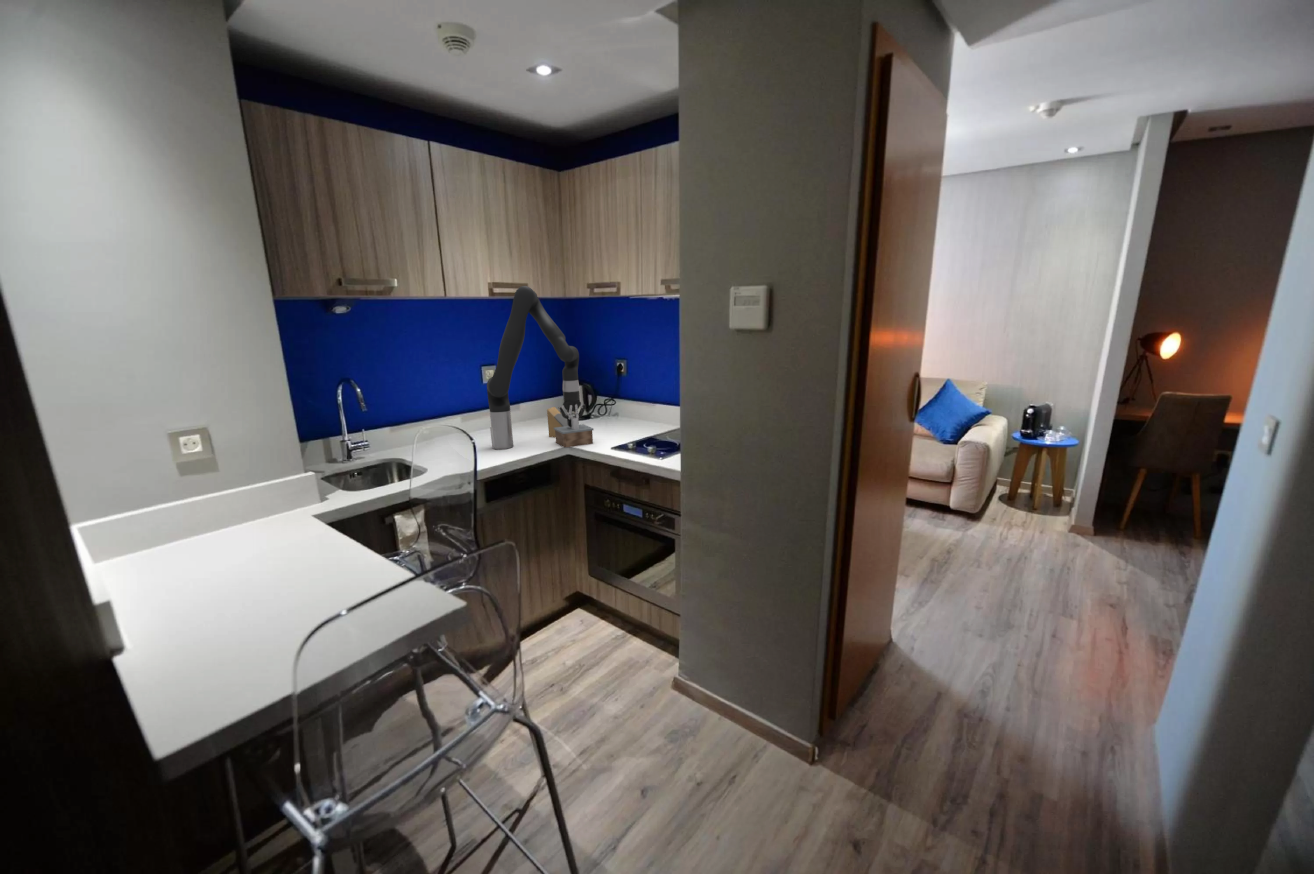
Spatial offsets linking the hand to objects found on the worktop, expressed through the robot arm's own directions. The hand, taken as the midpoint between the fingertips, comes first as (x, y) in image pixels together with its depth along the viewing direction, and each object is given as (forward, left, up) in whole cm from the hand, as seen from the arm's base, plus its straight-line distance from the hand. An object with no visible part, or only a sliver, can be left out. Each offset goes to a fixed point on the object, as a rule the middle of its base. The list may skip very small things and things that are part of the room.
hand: (573, 426), depth 247 cm
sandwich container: (+2, +18, -9) cm, 20 cm away
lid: (0, 0, -2) cm, 2 cm away
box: (0, 0, -9) cm, 9 cm away
